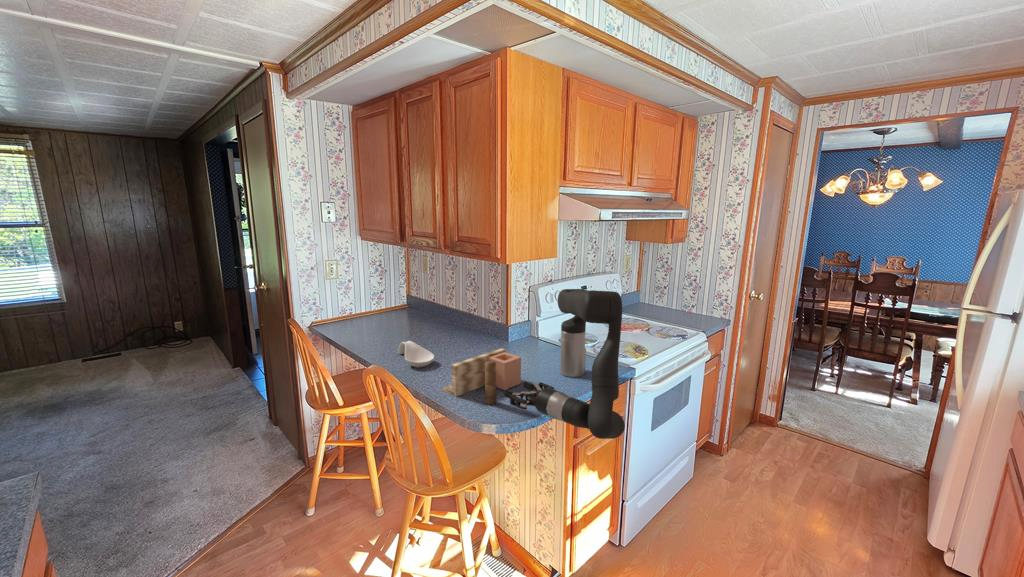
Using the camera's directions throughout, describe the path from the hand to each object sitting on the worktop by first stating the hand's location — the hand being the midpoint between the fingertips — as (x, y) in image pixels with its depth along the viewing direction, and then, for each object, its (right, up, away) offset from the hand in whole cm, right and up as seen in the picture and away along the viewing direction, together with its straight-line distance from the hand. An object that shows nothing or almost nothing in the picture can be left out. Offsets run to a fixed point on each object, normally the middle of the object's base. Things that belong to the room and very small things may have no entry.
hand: (514, 388), depth 134 cm
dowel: (-8, -7, +9) cm, 14 cm away
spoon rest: (-42, 0, +48) cm, 64 cm away
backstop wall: (-14, -4, +24) cm, 29 cm away
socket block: (-4, -4, +24) cm, 25 cm away
